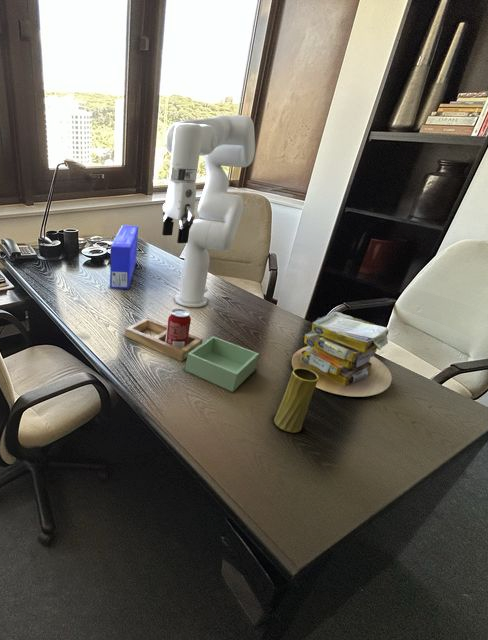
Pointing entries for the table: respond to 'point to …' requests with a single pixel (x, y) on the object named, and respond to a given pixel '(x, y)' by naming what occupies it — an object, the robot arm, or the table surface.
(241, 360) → the bin
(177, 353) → the caddy
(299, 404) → the vase
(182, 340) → the soda can
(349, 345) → the stacked boxes on plate
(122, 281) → the blue box
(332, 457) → the table surface
